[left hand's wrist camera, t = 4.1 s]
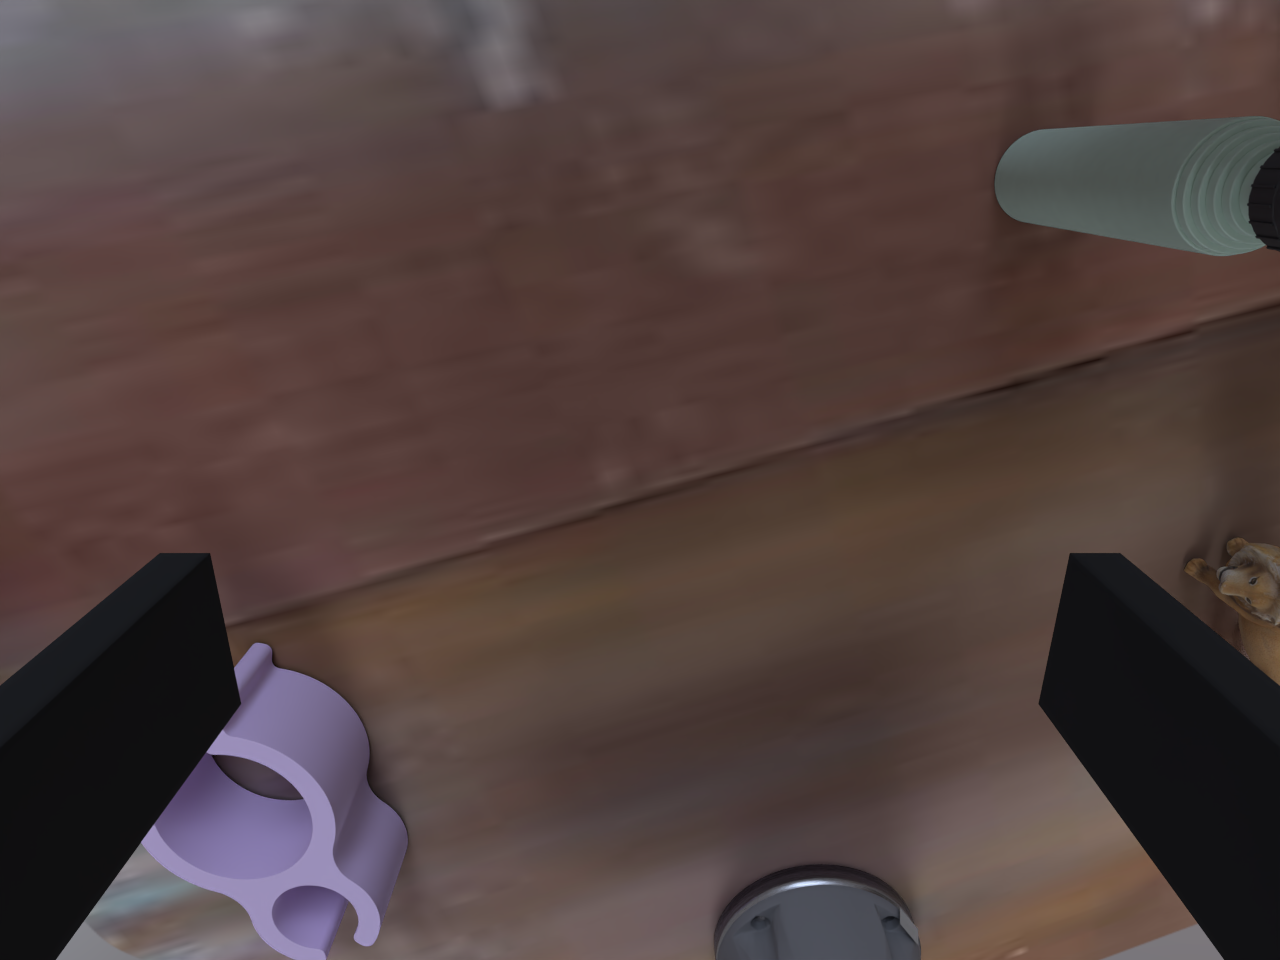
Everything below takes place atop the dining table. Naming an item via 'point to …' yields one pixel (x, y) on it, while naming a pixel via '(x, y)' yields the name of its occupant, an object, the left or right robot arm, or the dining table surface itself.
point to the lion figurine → (1250, 597)
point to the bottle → (1142, 181)
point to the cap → (1266, 202)
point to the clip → (288, 816)
